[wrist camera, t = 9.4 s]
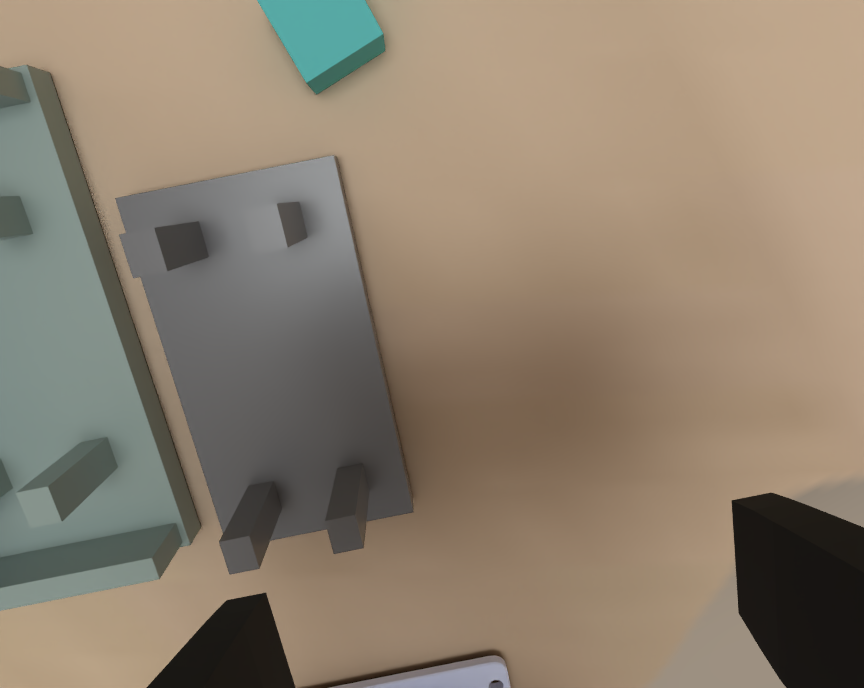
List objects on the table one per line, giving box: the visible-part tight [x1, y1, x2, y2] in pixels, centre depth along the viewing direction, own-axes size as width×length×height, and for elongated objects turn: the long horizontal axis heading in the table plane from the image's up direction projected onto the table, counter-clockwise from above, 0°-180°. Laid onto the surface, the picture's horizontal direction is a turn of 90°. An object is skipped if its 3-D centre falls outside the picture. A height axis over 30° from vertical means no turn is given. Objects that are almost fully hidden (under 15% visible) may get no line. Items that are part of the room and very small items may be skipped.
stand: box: [115, 155, 413, 574], centre depth 16 cm, size 11×6×4 cm, turn 11°
